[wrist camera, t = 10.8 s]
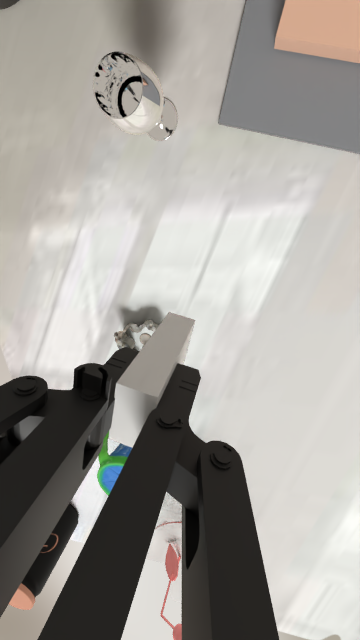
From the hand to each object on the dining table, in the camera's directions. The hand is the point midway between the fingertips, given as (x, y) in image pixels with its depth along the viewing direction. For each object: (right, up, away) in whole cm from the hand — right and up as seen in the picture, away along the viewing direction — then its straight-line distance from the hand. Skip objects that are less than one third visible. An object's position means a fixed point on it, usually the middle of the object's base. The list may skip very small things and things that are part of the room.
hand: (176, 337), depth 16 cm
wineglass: (-2, +26, +19) cm, 32 cm away
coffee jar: (-31, -50, +60) cm, 84 cm away
